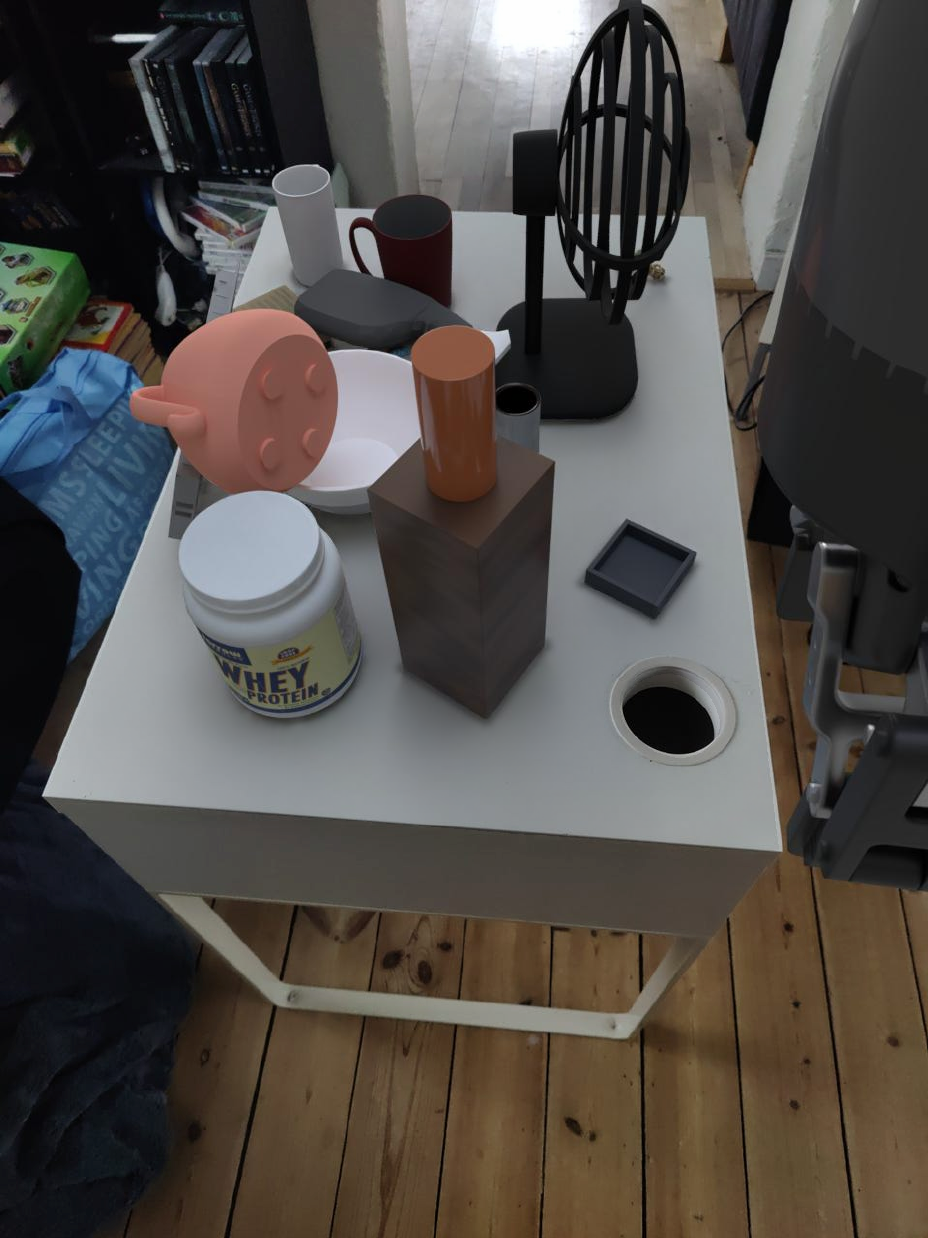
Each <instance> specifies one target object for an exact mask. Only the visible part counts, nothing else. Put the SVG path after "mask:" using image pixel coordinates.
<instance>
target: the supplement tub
mask: <svg viewBox="0 0 928 1238" xmlns="http://www.w3.org/2000/svg"><path fill="white" fill-rule="evenodd" d="M177 556H178V557H177V558H178V564H179V568H180V570H181V573H182V583H181V585H182V586H181V591H182V599H183V604H184V606H185V609H186V612H187V614H188V616H189V618H190V620H191V621H192V623H193V624H194V625H195V627H196V629H197V631H198V633H199V636H201V637H200V638H201V639H202V640H203V642H204V644H205V646H206V647H207V649H208V651H209V653H210V655H211V657H212V659H213V661H214V663H215V664H216V667H217V668H218V670H219V671H220V674H221V675H222V677H223V679H224V680H225V683H226V685H227V688H228V689H229V691H230V693H232V695H233V696H234V697H235V698H236V699H237V701H239V702H240V703H241V704H242V705H243V706H245V707H246V708H247V709H249V710H251V711H252V712H255V713H256V714H257V713H258V714H260V715H263V716H266V717H271V718H278V719H291V718H292V719H293V718H299V717H303V716H304V717H305V716H308V715H312V714H313V713H316V712H318V711H319V712H320V711H321V710H324V709H325V708H327V707H329V706H330V705H332V704H334V703H335V702H336V701H337V700H338V699H340V698H341V697H342V696H343V695H344V694H345V693H346V691H347V690H348V689H349V688H350V686H351V685H352V684H353V682H354V680H355V678H356V676H357V674H358V671H359V669H360V666H361V661H362V654H363V643H362V642H363V641H362V635H361V632H360V629H359V626H358V623H357V617H356V614H355V611H354V606H353V603H352V599H351V595H350V592H349V591H350V590H349V587H348V584H347V579H346V576H345V572H344V568H343V562H342V559H341V555H340V553H339V550H338V549H337V547H336V545H335V543H334V541H333V540H332V539H331V537H330V536H329V535H328V533H326V532H325V531H324V529H322V528H321V527H320V525H319V524H318V522H317V520H316V517H315V515H314V514H313V512H312V511H311V510H310V509H309V507H307V506H306V505H305V503H303V502H302V501H300V500H298V499H296V498H294V497H292V496H291V495H289V494H286V493H283V494H282V493H278V492H272V491H250V492H243V493H239V494H235V495H232V494H231V495H229V496H227V497H224V498H222V499H219V500H218V501H215V502H214V503H212V504H211V505H209V506H208V507H206V508H205V509H204V510H202V511H201V512H200V513H199V514H197V516H195V519H194V520H193V521H192V522H191V523H190V525H189V526H188V528H187V529H186V531H185V533H184V535H183V537H182V539H181V540H180V542H179V547H178V555H177Z"/></svg>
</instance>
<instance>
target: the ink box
mask: <svg viewBox="0 0 928 1238" xmlns="http://www.w3.org/2000/svg"><path fill="white" fill-rule="evenodd" d="M298 297H299V295H298V294H297V293H295V292H294V291H293V290H291V288H290V287H288V286H287V285H285V284H284V285H280V286H278V287H276V288H274V289H271V290H270V291H268V292H265V293H263V294H261V295H259V296H256V297H255V298H252V299H251V300H250V299H249V301H246V302H244V303H242V304H240V305H238V306H236V307H233V309H232V313H233V312H237V311H243V310H251V309H275V310H281V311H285V312H289V313H292V314H294V305H295V303H296V301H297V299H298ZM316 334H317V335H318V337H319V338H320V340H321V341H322V343H323V345H324V347H325V349H326V351H327V352H330V351H331V350H333V349H334V348H335V344H334V338H331V337H328V336H325V335H323V334H320V333H317V332H316Z"/></svg>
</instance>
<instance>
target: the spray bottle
mask: <svg viewBox="0 0 928 1238" xmlns="http://www.w3.org/2000/svg"><path fill="white" fill-rule="evenodd" d="M294 315H296V316H298V317H299V318H300V319H302V320H303V321H304V322H306V323H307V324H308V325H309V326H310V327H311V328H312V329H313V330H314V331H315V332H317V333H320V334H323V335H325V336H328V337H331V338H332V339H333V340H337V341H339V342H342V343H345V344H348V345H351V346H353V347H360V348H364V349H368V348H379V347H389V346H392V345H396V344H399V343H402V342H405V341H407V340H410V339H412V338H414V337H417V336H422V335H424V334H425V333H427V332H429V331H431V330H434V329H436V328H440V327H445V326H467V327H471V328H474V326H473V325H472V324H471V323H469V322H468V321H467V320H465V319H464V318H462V317H461V316H460V315H458V314H457V313H456V312H454V311H452V310H451V309H449V308H446V307H444V306H443V305H441V304H439V303H438V302H437V301H435V300H434V299H433V298H431V297H430V296H427V295H425V294H423V293H421V292H418V291H416V290H414V289H412V288H409V287H407V286H404V285H401V284H398V283H395V282H392V281H389V280H386V279H384V277H380V276H379V277H378V276H375V275H373V276H371V275H368V274H364V273H361V272H360V271H355V270H351V269H345V268H344V269H337V268H336V269H333V270H331V271H330V272H329V273H327V274H326V275H325V276H324V277H322V278H321V279H320V280H319V281H317V282H316V283H315V284H313V285H312V286H311V287H308V288H307V289H306V290H304V291H303V292H302V293H301V294H299V295H298V299H297V301H296V303H295V305H294ZM478 330H479V331H481V332H483V333H484V334H486V335H487V336H488V337H489V338H490V339H491V341H492V342H493V345H494V347H495V365H496V364H497V363H498V362H499V361H500V359H501V358H502V357H503V356H504V355H505V354H506V353H507V351H508V350H509V349H510V348H511V341H510V336H509V332H508V330H504V331H499V332H496V331H492V330H491V331H490V330H484V329H481V330H480V329H478Z"/></svg>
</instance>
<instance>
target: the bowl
mask: <svg viewBox="0 0 928 1238" xmlns="http://www.w3.org/2000/svg"><path fill="white" fill-rule="evenodd" d="M327 353H328V355H329V357H330V359H331V361H332V364H333V367H334V370H335V374H336V378H337V385H338V409H337V417H336V423H335V427H334V431H333V435H332V438H331V440H330V443H329V446H328V448H327V450H326V452H325V454H324V456H323V458H322V459H321V461H320V463H319V464H318V466H317V467H316V468H315V469H314V471H313V472H312V473H311V474H310V475H309V476H308V477H307V478H306V479H304V480H303V481H302V482H300V483H299V484H298V485H296V486H295V487H293V488H292V489H290V490H288V491H287V492H285V493H284V494H286V495H288V496H290V497H293V498H295V499H296V500H298V501H300V502H301V503H303V504H306V505H308V506H310V507H312V508H314V509H317V510H320V511H324V512H327V513H333V514H337V515H344V516H355V515H363V514H367V513H371V508H370V503H369V498H368V493H367V489H368V488H369V487H370V486H371V485H372V484H373V483H374V482H375V481H376V480H377V479H378V478H379V477H380V476H381V475H382V474H383V473H384V472H385V471H386V470H387V469H388V468H389V467H390V466H391V465H392V464H393V463H395V462H396V461H397V460H398V459H399V458H400V457H401V456H402V455H403V454H404V453H405V452H406V451H407V450H408V449H409V448H410V447H411V446H412V445H413V444H414V443H415V442H416V441H417V440H418V439H419V438H420V429H419V421H418V413H417V405H416V396H415V388H414V380H413V372H412V363H411V362H410V361H408V360H405V359H403V358H400V357H398V356H396V355H392V354H388V353H384V352H380V351H372V350H367V349H361V348H360V349H359V348H357V349H339V350H338V349H337V350H333V351H327Z"/></svg>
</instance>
